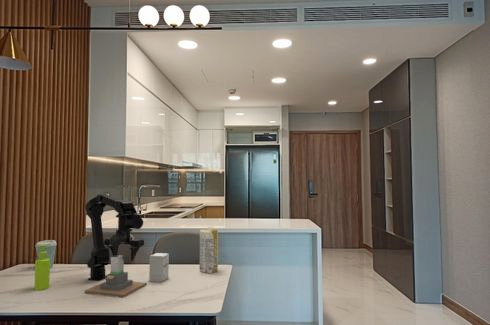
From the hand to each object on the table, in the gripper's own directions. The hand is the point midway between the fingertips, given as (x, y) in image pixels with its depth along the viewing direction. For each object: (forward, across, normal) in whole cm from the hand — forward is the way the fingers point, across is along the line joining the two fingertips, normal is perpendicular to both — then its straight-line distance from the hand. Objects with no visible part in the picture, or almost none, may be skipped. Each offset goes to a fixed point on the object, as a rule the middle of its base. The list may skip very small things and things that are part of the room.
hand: (123, 260), depth 167 cm
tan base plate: (+12, 0, -5) cm, 13 cm away
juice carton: (+12, +29, +36) cm, 48 cm away
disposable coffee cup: (+12, -63, +16) cm, 66 cm away
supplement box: (+12, +11, +14) cm, 22 cm away
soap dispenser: (+12, -34, -14) cm, 38 cm away
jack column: (+7, 0, -5) cm, 9 cm away
